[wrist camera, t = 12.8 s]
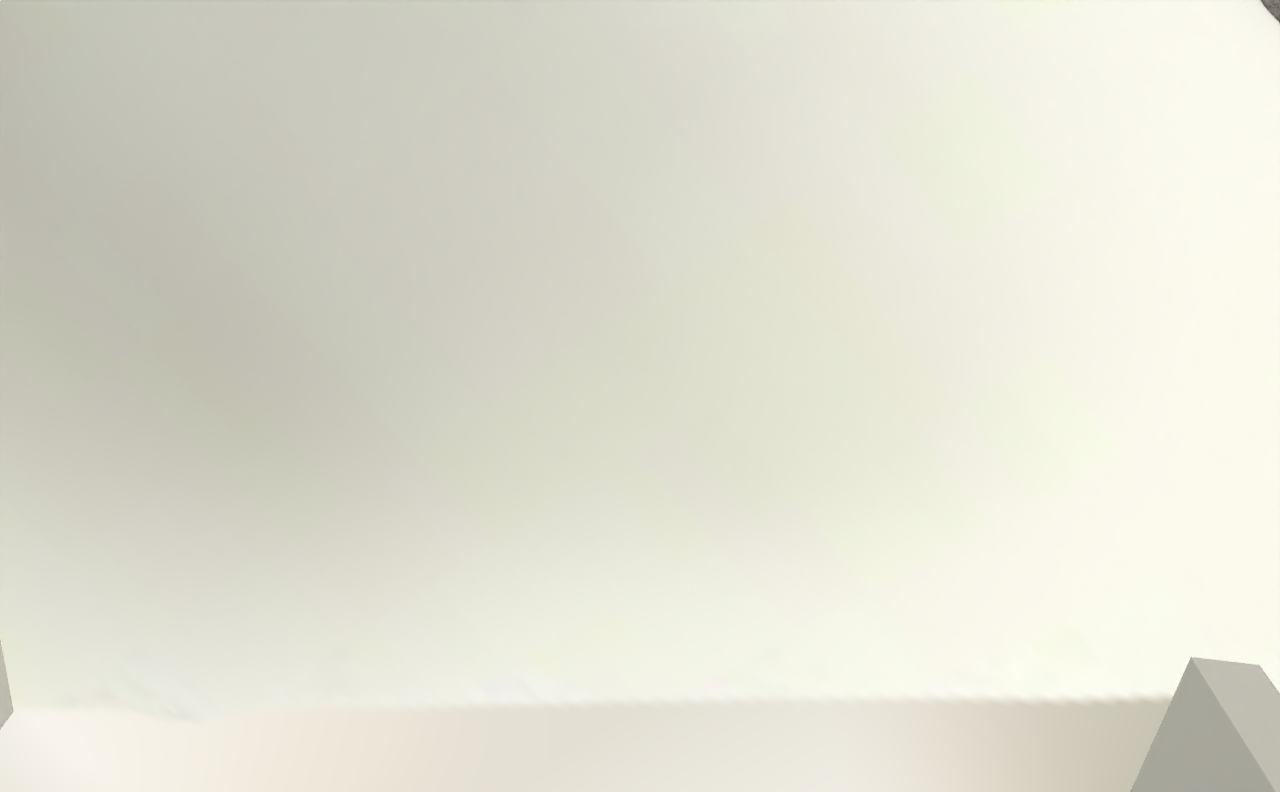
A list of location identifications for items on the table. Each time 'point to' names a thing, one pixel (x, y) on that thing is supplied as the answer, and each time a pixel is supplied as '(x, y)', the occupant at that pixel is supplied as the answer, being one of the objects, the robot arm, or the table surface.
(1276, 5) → the pliers
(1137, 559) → the table surface
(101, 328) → the table surface
